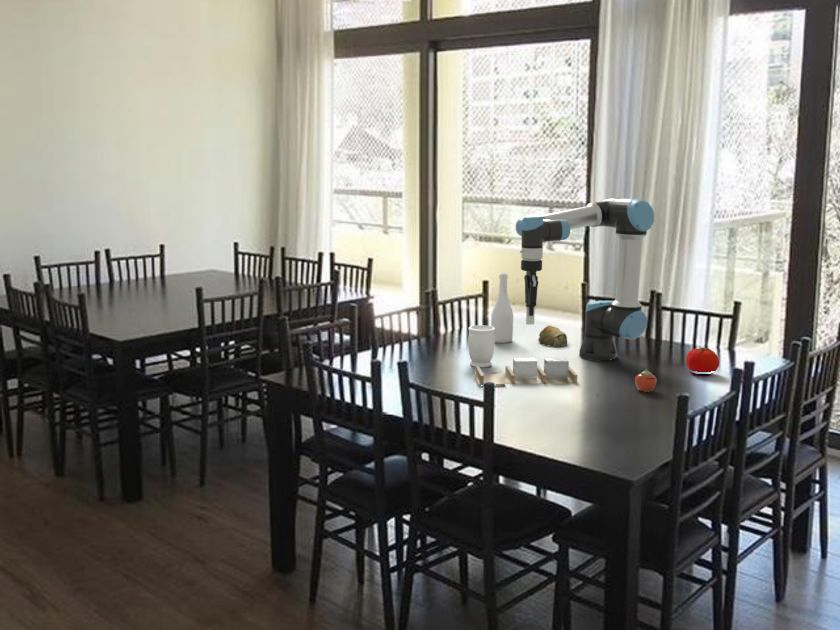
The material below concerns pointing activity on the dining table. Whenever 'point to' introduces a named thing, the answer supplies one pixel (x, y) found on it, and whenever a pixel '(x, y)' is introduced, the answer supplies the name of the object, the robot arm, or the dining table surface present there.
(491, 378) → the rack
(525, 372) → the white rectangular block
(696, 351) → the tomato
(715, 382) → the dining table surface
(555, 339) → the pastry
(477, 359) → the jar
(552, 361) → the panel
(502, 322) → the wine bottle
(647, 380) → the tomato
